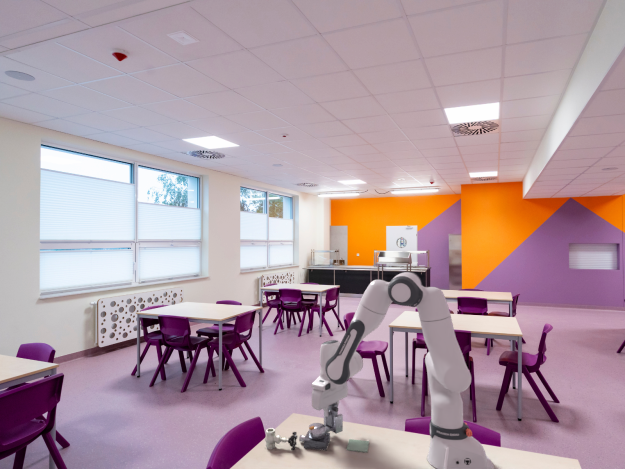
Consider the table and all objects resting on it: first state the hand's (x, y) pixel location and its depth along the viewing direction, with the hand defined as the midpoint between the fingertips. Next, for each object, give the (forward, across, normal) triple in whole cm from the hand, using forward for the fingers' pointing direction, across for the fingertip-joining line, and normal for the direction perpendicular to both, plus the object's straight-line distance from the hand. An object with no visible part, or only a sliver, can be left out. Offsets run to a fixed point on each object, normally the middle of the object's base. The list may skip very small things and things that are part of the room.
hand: (331, 413), depth 162 cm
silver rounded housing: (+6, +5, 0) cm, 8 cm away
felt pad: (+9, -1, +13) cm, 16 cm away
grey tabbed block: (+4, 0, 0) cm, 4 cm away
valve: (+9, +20, -10) cm, 24 cm away
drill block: (+9, +9, -1) cm, 13 cm away
